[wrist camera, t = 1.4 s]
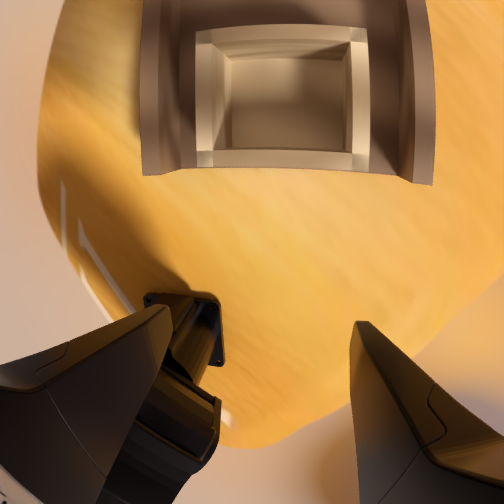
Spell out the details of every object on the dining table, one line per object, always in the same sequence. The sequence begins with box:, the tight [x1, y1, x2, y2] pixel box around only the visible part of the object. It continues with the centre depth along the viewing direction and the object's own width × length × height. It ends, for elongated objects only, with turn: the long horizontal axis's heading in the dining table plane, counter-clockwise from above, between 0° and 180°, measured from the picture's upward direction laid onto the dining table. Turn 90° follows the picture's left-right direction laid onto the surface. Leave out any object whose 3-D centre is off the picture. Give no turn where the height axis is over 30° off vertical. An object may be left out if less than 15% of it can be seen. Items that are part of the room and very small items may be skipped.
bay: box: [140, 0, 436, 185], centre depth 13 cm, size 18×16×6 cm
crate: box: [195, 24, 370, 172], centre depth 14 cm, size 7×8×4 cm
